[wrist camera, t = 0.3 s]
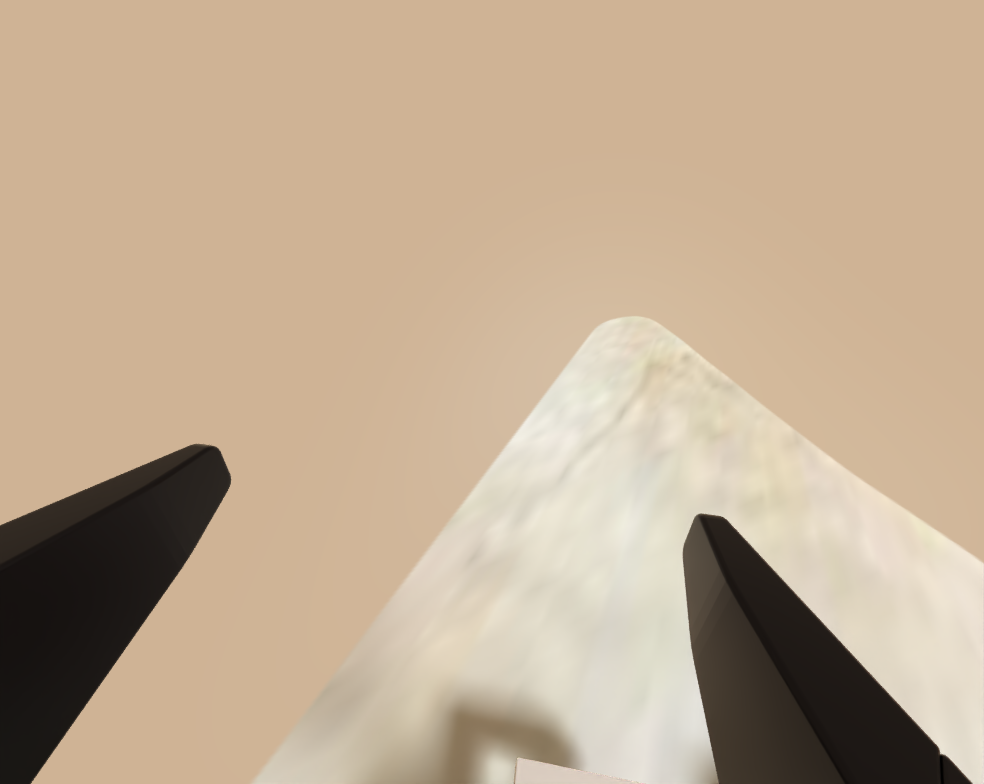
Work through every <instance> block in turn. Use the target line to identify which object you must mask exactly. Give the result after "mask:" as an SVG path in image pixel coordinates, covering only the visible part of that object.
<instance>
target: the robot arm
mask: <svg viewBox="0 0 984 784" xmlns="http://www.w3.org/2000/svg"><path fill="white" fill-rule="evenodd" d="M230 484H231V476H230V473H229V471H228V468H227V466H226V464H225V461H224V459H223V457H222V454H221V452H220V451H219V449H218V448H217V447H215V446H211V445H204V444H194V445H190V446H188V447H185V448H183V449H181V450H178V451H176V452H173V453H171V454H169V455H166V456H164V457H162V458H159V459H157V460H154V461H152V462H150V463H147V464H145V465H142V466H140V467H138V468H135V469H133V470H131V471H128V472H126V473H124V474H121V475H119V476H116V477H114V478H112V479H109V480H107V481H104V482H102V483H100V484H97V485H95V486H93V487H90V488H88V489H85V490H83V491H81V492H78V493H76V494H74V495H71V496H69V497H66V498H64V499H62V500H60V501H57V502H55V503H52V504H50V505H48V506H45V507H43V508H40V509H38V510H36V511H33V512H31V513H28V514H27V515H24V516H21V517H19V518H17V519H14V520H12V521H10V522H7V523H5V524H2V525H0V784H31V783H32V781H33V780H34V778H35V777H36V776H37V774H38V773H39V771H40V770H41V768H42V767H43V765H44V764H45V763H46V761H47V760H48V758H49V757H50V755H51V754H52V753H53V751H54V750H55V748H56V747H57V746H58V744H59V743H60V741H61V740H62V739H63V737H64V736H65V734H66V732H67V731H68V730H69V729H70V727H71V726H72V724H73V723H74V721H75V720H76V718H77V717H78V716H79V714H80V713H81V711H82V710H83V709H84V707H85V706H86V704H87V703H88V701H89V700H90V699H91V697H92V696H93V694H94V693H95V691H96V690H97V689H98V687H99V686H100V684H101V683H102V681H103V680H104V679H105V677H106V676H107V674H108V673H109V671H110V670H111V669H112V667H113V666H114V664H115V663H116V661H117V660H118V659H119V657H120V656H121V654H122V653H123V652H124V650H125V649H126V647H127V646H128V644H129V643H130V642H131V640H132V639H133V637H134V636H135V634H136V633H137V632H138V630H139V629H140V627H141V626H142V624H143V623H144V622H145V620H146V619H147V617H148V616H149V614H150V613H151V611H152V610H153V609H154V607H155V606H156V604H157V603H158V601H159V600H160V599H161V597H162V596H163V594H164V593H165V592H166V590H167V589H168V587H169V586H170V584H171V583H172V582H173V580H174V579H175V577H176V576H177V575H178V573H179V572H180V570H181V569H182V567H183V566H184V564H185V563H186V561H187V560H188V558H189V557H190V555H191V553H192V552H193V550H194V548H195V547H196V545H197V543H198V541H199V540H200V538H201V536H202V535H203V533H204V531H205V529H206V527H207V526H208V524H209V522H210V521H211V519H212V517H213V515H214V513H215V512H216V510H217V509H218V507H219V505H220V503H221V502H222V500H223V498H224V496H225V495H226V493H227V491H228V489H229V487H230ZM683 565H684V576H685V587H686V598H687V608H688V619H689V630H690V639H691V648H692V653H693V659H694V665H695V669H696V674H697V679H698V684H699V689H700V694H701V699H702V703H703V708H704V713H705V718H706V723H707V728H708V733H709V737H710V742H711V747H712V752H713V757H714V762H715V767H716V772H717V776H718V781H719V784H973V783H972V782H971V781H970V780H969V779H968V778H967V777H966V776H965V775H964V774H963V773H962V772H961V770H960V769H959V768H958V767H957V766H956V765H955V764H954V763H953V762H952V761H951V760H950V759H949V758H948V757H947V756H946V755H943V754H940V750H939V748H938V746H937V745H936V744H935V743H934V742H933V741H932V740H931V739H930V738H929V736H928V735H927V734H926V733H925V732H924V731H923V730H922V729H921V728H920V727H919V726H918V725H917V724H916V722H915V721H914V720H913V719H912V718H911V717H910V716H909V715H908V714H907V713H906V712H905V711H904V710H903V709H902V707H901V706H900V705H899V704H898V703H897V702H896V701H895V700H894V699H893V698H892V697H891V696H890V695H889V693H888V692H887V691H886V690H885V689H884V688H883V687H882V686H881V685H880V684H879V683H878V682H877V681H876V679H875V678H874V677H873V676H872V675H871V674H870V673H869V672H868V671H867V670H866V669H865V668H864V667H863V666H862V664H861V663H860V662H859V661H858V660H857V659H856V658H855V657H854V656H853V655H852V654H851V653H850V652H849V650H848V649H847V648H846V647H845V646H844V645H843V644H842V643H841V642H840V641H839V640H838V639H837V638H836V637H835V635H834V634H833V633H832V632H831V631H830V630H829V629H828V628H827V627H826V626H825V625H824V624H823V623H822V621H821V620H820V619H819V618H818V617H817V616H816V615H815V614H814V613H813V612H812V611H811V610H810V609H809V608H808V606H807V605H806V604H805V603H804V602H803V601H802V600H801V599H800V598H799V597H798V596H797V595H796V594H795V592H794V591H793V590H792V589H791V588H790V587H789V586H788V585H787V584H786V583H785V582H784V581H783V580H782V578H781V577H780V576H779V575H778V574H777V573H776V572H775V571H774V570H773V569H772V568H771V567H770V566H769V565H768V563H767V562H766V561H765V560H764V559H763V558H762V557H761V556H760V555H759V554H758V553H757V552H756V551H755V549H754V548H753V547H752V546H751V545H750V544H749V543H748V542H747V541H746V540H745V539H744V538H743V537H742V536H741V534H740V533H739V532H738V531H737V530H736V529H735V528H734V527H733V526H732V525H731V524H730V523H729V522H728V521H727V520H726V519H725V518H723V517H721V516H716V515H708V514H698V515H696V517H695V518H694V520H693V523H692V525H691V528H690V530H689V533H688V535H687V538H686V540H685V543H684V547H683Z"/></svg>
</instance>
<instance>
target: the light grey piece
mask: <svg viewBox="0 0 984 784" xmlns="http://www.w3.org/2000/svg"><path fill="white" fill-rule="evenodd" d="M514 784H644V783H639V782H635V781H630V780H625V779H620V778H615V777H610V776H606V775H601V774H596V773H591V772H586V771H581V770H577V769H572V768H567V767H562V766H557V765H552V764H548V763H543V762H538V761H533V760H528V759H524V758H519V757H517V762H516V766H515V776H514Z"/></svg>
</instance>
